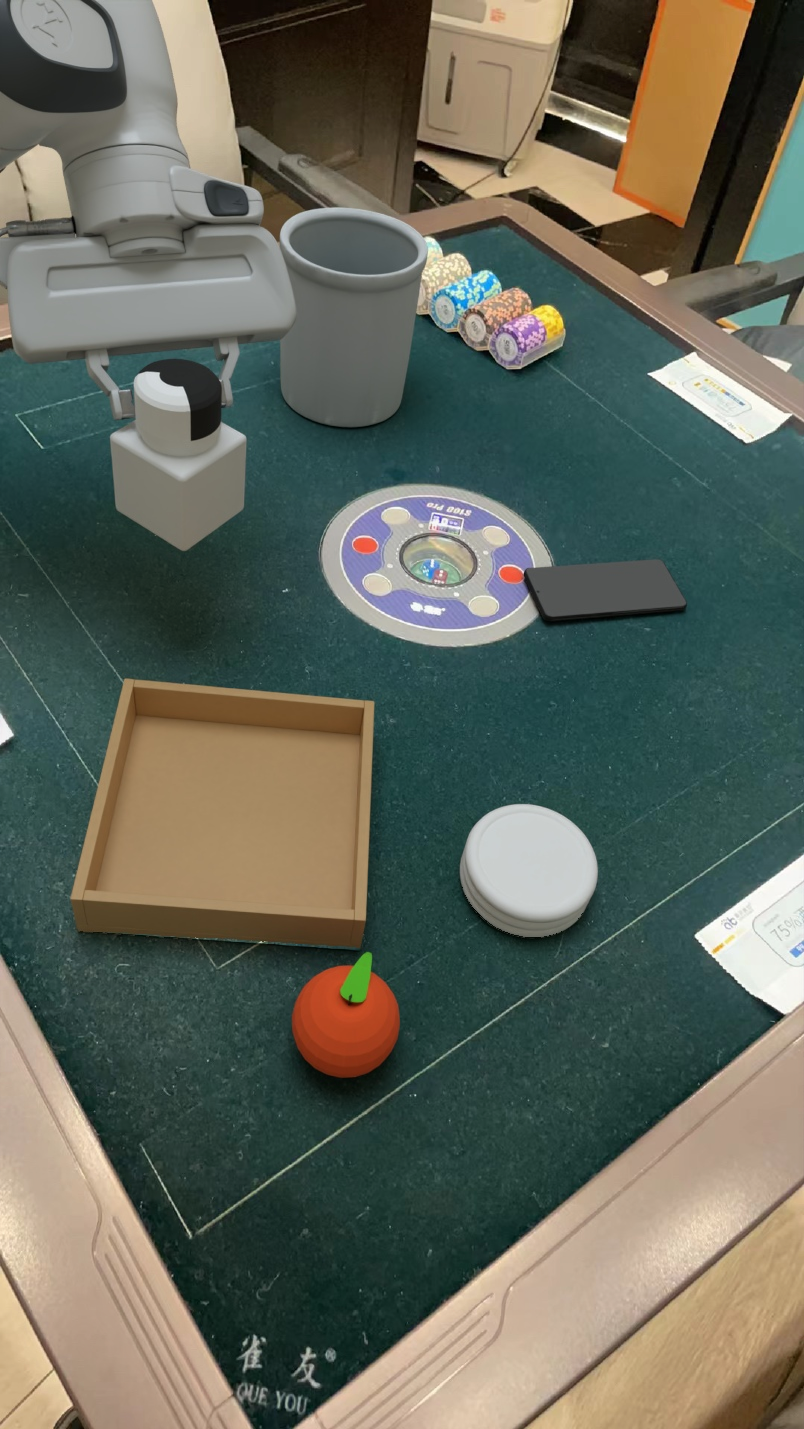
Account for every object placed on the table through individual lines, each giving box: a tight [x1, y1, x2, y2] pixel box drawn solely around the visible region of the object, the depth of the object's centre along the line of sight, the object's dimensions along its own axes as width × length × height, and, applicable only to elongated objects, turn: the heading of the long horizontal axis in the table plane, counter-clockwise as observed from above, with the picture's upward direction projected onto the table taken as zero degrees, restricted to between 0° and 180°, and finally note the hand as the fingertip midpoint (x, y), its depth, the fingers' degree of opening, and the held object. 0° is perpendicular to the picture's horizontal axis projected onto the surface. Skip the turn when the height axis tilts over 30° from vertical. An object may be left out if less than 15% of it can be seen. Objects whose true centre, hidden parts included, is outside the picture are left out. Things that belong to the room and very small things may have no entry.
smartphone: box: [522, 558, 688, 622], centre depth 101 cm, size 7×1×15 cm
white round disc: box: [459, 803, 599, 938], centre depth 78 cm, size 10×10×4 cm
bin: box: [69, 677, 375, 949], centre depth 78 cm, size 20×20×4 cm
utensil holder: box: [279, 206, 429, 428], centre depth 111 cm, size 15×15×18 cm
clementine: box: [291, 951, 401, 1079], centre depth 67 cm, size 8×7×7 cm
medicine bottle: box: [109, 358, 248, 552], centre depth 77 cm, size 7×7×12 cm
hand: (174, 412), depth 76 cm, fingers closed on medicine bottle, 6 cm apart
